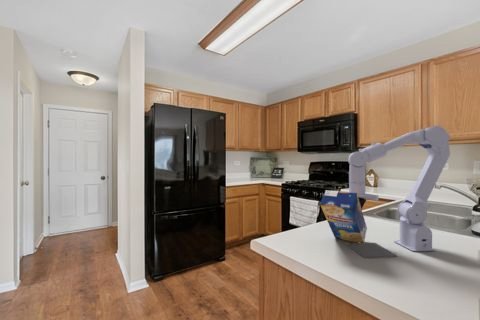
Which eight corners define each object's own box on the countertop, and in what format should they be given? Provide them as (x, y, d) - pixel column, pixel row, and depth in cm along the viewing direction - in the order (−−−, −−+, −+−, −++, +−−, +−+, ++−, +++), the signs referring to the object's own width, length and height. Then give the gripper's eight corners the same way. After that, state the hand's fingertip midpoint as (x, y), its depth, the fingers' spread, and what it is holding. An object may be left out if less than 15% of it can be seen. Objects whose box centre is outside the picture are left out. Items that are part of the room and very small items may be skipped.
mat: (397, 257, 75) (397, 255, 75) (364, 258, 75) (364, 256, 75) (375, 244, 86) (375, 242, 86) (347, 245, 86) (347, 243, 86)
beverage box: (338, 223, 98) (325, 190, 86) (367, 228, 90) (356, 192, 79) (334, 237, 94) (319, 204, 82) (364, 243, 87) (352, 209, 75)
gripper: (381, 183, 88) (381, 218, 88) (343, 180, 98) (343, 211, 98) (374, 184, 83) (374, 221, 83) (335, 181, 94) (335, 214, 94)
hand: (357, 216), depth 90 cm, fingers closed
